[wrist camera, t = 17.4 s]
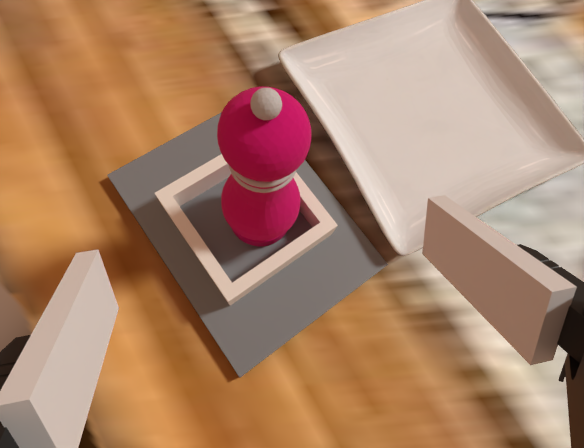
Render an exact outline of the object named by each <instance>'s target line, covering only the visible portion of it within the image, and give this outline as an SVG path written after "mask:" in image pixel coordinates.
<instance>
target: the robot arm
mask: <svg viewBox="0 0 584 448" xmlns="http://www.w3.org/2000/svg"><path fill="white" fill-rule="evenodd" d="M422 254H423V255H424V256H425V257H426V258H427V259H428V260H429V261H430V262H431V263H432V264H433V265H434V266H435V267H436V268H437V269H438V270H439V271H440V272H441V274H442V275H443V276H444V277H445V278H446V279H447V280H448V281H449V282H450V283H451V284H452V285H453V286H454V287H455V288H456V289H457V290H458V291H459V292H460V293H461V294H462V295H463V296H464V297H465V298H466V299H467V300H468V301H469V302H470V303H471V304H472V305H473V306H474V307H475V308H476V309H477V311H478V312H479V313H480V314H481V315H482V316H483V317H484V318H485V319H486V320H487V321H488V322H489V323H490V324H491V325H492V326H493V327H494V328H495V329H496V330H497V331H498V332H499V333H500V334H501V335H502V336H503V337H504V338H505V339H506V340H507V341H508V342H509V343H510V344H511V345H512V347H513V348H514V349H515V350H516V351H517V352H518V353H519V354H520V355H521V356H522V357H523V358H524V359H525V360H526V361H527V362H528V363H529V364H530V365H533V364H538V363H542V362H546V361H550V360H553V358H554V355H555V352H556V349H557V346H558V345H559V346H560V347H561V348H563V349H564V350H565V351H566V352H567V353H568V354H567V357H566V360H565V363H564V365H563V368H562V371H561V374H560V377H559V381H561V382H563V380H564V377H566V385H567V398H568V411H569V424H570V437H571V448H584V282H583V281H581V280H580V279H578V278H577V277H575V276H574V275H572V274H571V273H569V272H568V271H566V270H565V269H563V268H562V267H559V265H557V264H556V263H554V262H553V261H549V259H548V258H547V257H545V256H544V255H542V254H541V253H539V252H538V251H536V250H534V249H531V248H529V247H526V246H523V245H521V244H520V245H516V244H514V243H513V242H511V241H510V240H509V239H507V238H506V237H504V236H503V235H501V234H500V233H498V232H497V231H496V230H494V229H493V228H491V227H490V226H488V225H487V224H486V223H484V222H483V221H481V220H480V219H478V218H477V217H475V216H474V215H473V214H471V213H470V212H468V211H467V210H465V209H464V208H462V207H461V206H460V205H458V204H457V203H455V202H454V201H452V200H451V199H449V198H448V197H447V196H445V195H443V196H437V197H430V198H428V202H427V212H426V222H425V232H424V242H423V252H422ZM118 309H119V307H118V304H117V302H116V299H115V296H114V293H113V290H112V287H111V284H110V282H109V279H108V276H107V273H106V270H105V267H104V264H103V262H102V259H101V256H100V253H99V250H92V251H85V252H79V253H76V254H75V256H74V258H73V260H72V262H71V263H70V265H69V267H68V269H67V271H66V272H65V274H64V276H63V278H62V280H61V282H60V283H59V285H58V287H57V289H56V291H55V292H54V294H53V296H52V298H51V300H50V302H49V303H48V305H47V307H46V309H45V311H44V312H43V314H42V316H41V318H40V320H39V322H38V323H37V325H36V327H35V329H34V331H33V332H32V334H31V335H28V336H23V337H17V338H15V339H14V340H13V341H12V342H11V343H9V344H8V345H7V346H6V347H5V348H4V349H3V350H2V351H1V352H0V448H78V446H79V443H80V439H81V436H82V433H83V429H84V426H85V422H86V419H87V415H88V412H89V409H90V405H91V402H92V398H93V395H94V391H95V388H96V385H97V381H98V378H99V374H100V371H101V367H102V364H103V361H104V357H105V354H106V350H107V347H108V343H109V340H110V337H111V333H112V330H113V326H114V323H115V319H116V316H117V313H118Z"/></svg>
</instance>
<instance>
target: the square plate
mask: <svg viewBox="0 0 584 448" xmlns="http://www.w3.org/2000/svg"><path fill="white" fill-rule="evenodd" d="M278 57H279V60H280V62H281V64H282V66H283V67H284V69H285V71H286V72H287V74H288V75H289V77H290V78H291V80H292V81H293V83H294V84H295V86H296V87H297V88H298V90H299V91H300V93H301V94H302V96H303V97H304V99H305V100H306V102H307V103H308V105H309V106H310V107H311V109H312V110H313V112H314V114H315V115H316V116H317V118H318V120H319V121H320V123H321V124H322V126H323V127H324V129H325V130H326V132H327V134H328V135H329V137H330V138H331V140H332V142H333V144H334V145H335V147H336V149H337V150H338V152H339V154H340V156H341V157H342V159H343V161H344V163H345V164H346V166H347V168H348V170H349V171H350V173H351V175H352V177H353V179H354V180H355V182H356V184H357V186H358V188H359V189H360V191H361V193H362V195H363V197H364V199H365V201H366V203H367V204H368V206H369V208H370V210H371V212H372V213H373V215H374V217H375V219H376V221H377V223H378V225H379V226H380V228H381V230H382V232H383V234H384V235H385V237H386V238H387V240H388V242H389V243H390V245H391V246H392V248H393V249H394V250H395V251H396V252H397V253H398V254H399V255H402V256H406V255H409V254H411V253H413V252H416V251H418V250H420V249H421V248H423V242H424V232H425V222H426V212H427V202H428V198H430V197H437V196H443V195H445V196H447V197H448V198H449V199H451V200H452V201H454V202H455V203H457V204H458V205H460V206H461V207H462V208H464V209H465V210H467V211H468V212H470V213H471V214H473V215H474V216H475V217H477V216H479V215H481V214H483V213H485V212H486V211H488V210H490V209H492V208H494V207H495V206H497V205H499V204H501V203H503V202H505V201H507V200H508V199H510V198H512V197H514V196H516V195H518V194H520V193H522V192H524V191H526V190H528V189H531V188H533V187H535V186H537V185H539V184H541V183H543V182H546V181H548V180H550V179H552V178H554V177H556V176H559V175H561V174H563V173H565V172H568V171H570V170H572V169H574V168H576V167H578V166H580V165H582V164H584V138H583V137H582V135H581V134H580V133H579V131H578V130H577V129H576V128H575V126H574V125H573V124H572V123H571V121H570V120H569V119H568V118H567V116H566V115H565V114H564V112H563V111H562V110H561V109H560V107H559V106H558V105H557V103H556V102H555V101H554V100H553V98H552V97H551V96H550V94H549V93H548V92H547V91H546V89H545V88H544V87H543V86H542V84H541V83H540V82H539V81H538V80H537V78H536V77H535V76H534V75H533V73H532V72H531V71H530V70H529V68H528V67H527V66H526V65H525V63H524V62H523V61H522V60H521V58H520V57H519V56H518V55H517V53H516V52H515V51H514V50H513V49H512V47H511V46H510V45H509V44H508V42H507V41H506V40H505V39H504V37H503V36H502V35H501V34H500V33H499V31H498V30H497V29H496V28H495V26H494V25H493V24H492V23H491V21H490V20H489V19H488V18H487V17H486V15H485V14H484V13H483V12H482V11H481V9H480V8H479V7H478V6H477V5H476V4H475V2H474V1H473V0H424V1H421V2H418V3H415V4H412V5H409V6H406V7H403V8H400V9H398V10H395V11H392V12H389V13H386V14H383V15H380V16H377V17H374V18H371V19H368V20H365V21H362V22H359V23H356V24H353V25H350V26H347V27H345V28H342V29H339V30H336V31H333V32H330V33H327V34H324V35H321V36H318V37H315V38H312V39H310V40H307V41H304V42H301V43H298V44H295V45H293V46H290V47H287V48H285V49H283V50H281V51H280V52H279V54H278Z"/></svg>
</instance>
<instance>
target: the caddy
mask: <svg viewBox="0 0 584 448" xmlns="http://www.w3.org/2000/svg"><path fill="white" fill-rule="evenodd" d="M221 113H222V112H221ZM221 113H220V114H218V115H216V116H214V117H212V118H210V119H209V120H207V121H205V122H203V123H201V124H199V125H198V126H196V127H194V128H192V129H190V130H189V131H187V132H185V133H183V134H181V135H179V136H178V137H176V138H174V139H172V140H170V141H168V142H167V143H165V144H163V145H161V146H159V147H157V148H156V149H154V150H152V151H150V152H148V153H146V154H145V155H143V156H141V157H139V158H137V159H135V160H134V161H132V162H130V163H128V164H126V165H124V166H123V167H121V168H119V169H117V170H115V171H113V172H112V173H110V174H108V177H109V178H110V180H111V181H112V183H113V185H114V186H115V188H116V189H117V191H118V192H119V194H120V195H121V197H122V198H123V200H124V201H125V203H126V204H127V206H128V207H129V209H130V211H131V212H132V214H133V215H134V217H135V218H136V220H137V221H138V223H139V224H140V226H141V227H142V229H143V230H144V232H145V233H146V235H147V237H148V238H149V240H150V241H151V243H152V244H153V246H154V247H155V249H156V250H157V252H158V253H159V255H160V256H161V258H162V259H163V261H164V263H165V264H166V266H167V267H168V269H169V270H170V272H171V273H172V275H173V276H174V278H175V279H176V281H177V282H178V284H179V285H180V287H181V289H182V290H183V292H184V293H185V295H186V296H187V298H188V299H189V301H190V302H191V304H192V305H193V307H194V308H195V310H196V311H197V313H198V315H199V316H200V318H201V319H202V321H203V322H204V324H205V325H206V327H207V328H208V330H209V331H210V333H211V334H212V336H213V337H214V339H215V340H216V342H217V344H218V345H219V347H220V348H221V350H222V351H223V353H224V354H225V356H226V357H227V359H228V360H229V362H230V363H231V365H232V366H233V368H234V370H235V371H236V373H237V374H238V376H239V377H241V376H243V375H244V374H245V373H247V372H248V371H249V370H251V369H252V368H253V367H255V366H256V365H257V364H258V363H260V362H261V361H262V360H264V359H265V358H266V357H268V356H269V355H270V354H272V353H273V352H274V351H275V350H277V349H278V348H279V347H281V346H282V345H283V344H285V343H286V342H287V341H289V340H290V339H291V338H292V337H294V336H295V335H296V334H298V333H299V332H300V331H302V330H303V329H304V328H306V327H307V326H308V325H309V324H311V323H312V322H313V321H315V320H316V319H317V318H319V317H320V316H321V315H323V314H324V313H325V312H326V311H328V310H329V309H330V308H332V307H333V306H334V305H336V304H337V303H338V302H340V301H341V300H342V299H343V298H345V297H346V296H347V295H349V294H350V293H351V292H353V291H354V290H355V289H357V288H358V287H359V286H360V285H362V284H363V283H364V282H366V281H367V280H368V279H370V278H371V277H372V276H374V275H375V274H376V273H377V272H379V271H380V270H381V269H383V268H384V267H385V266H387V265H388V264H387V262H386V261H385V260H384V259H383V257H382V256H381V255H380V254H379V252H378V251H377V250H376V249H375V247H374V246H373V245H372V244H371V242H370V241H369V240H368V239H367V237H366V236H365V235H364V234H363V232H362V231H361V230H360V228H359V227H358V226H357V225H356V223H355V222H354V221H353V220H352V218H351V217H350V216H349V215H348V213H347V212H346V211H345V210H344V208H343V207H342V206H341V205H340V203H339V202H338V201H337V200H336V198H335V197H334V196H333V195H332V193H331V192H330V191H329V189H328V188H327V187H326V186H325V184H324V183H323V182H322V181H321V179H320V178H319V177H318V176H317V174H316V173H315V172H314V171H313V169H312V168H311V167H310V166H309V164H308V163H307V162H306V161H305V160H304V162H303V163H302V164H301V165H300V166H299V167H298V169H297V170H296V173H295V175H294V177H293V178H294V180H295V182H296V183H297V186H298V189H299V192H300V209H299V213H298V217H297V219H296V221H295V222H294V224H293V225H292V227H291V228H290V229H289V230H288V231H287V232H286V234H285V235H284V236H283V237H282V238H281V239H280V240H279V241H277V242H276V243H274V244H271V245H268V246H252V245H249V244H247V243H245V242H243V241H242V240H240V239H239V238H238V237H237V236H236V235H235V234H234V232H233V230H232V228H231V227H230V225H229V224H228V223H227V221H226V219H225V217H224V215H223V212H222V205H221V195H222V190H223V187H224V185H225V183H226V181H227V179H228V178H229V176H230V175H231V171H230V169H229V164H228V163H227V162H226V161H225V160H224V158H223V156H222V154H221V151H220V148H219V145H218V139H217V128H218V122H219V119H220V116H221Z"/></svg>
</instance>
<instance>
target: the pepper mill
mask: <svg viewBox="0 0 584 448" xmlns="http://www.w3.org/2000/svg"><path fill="white" fill-rule="evenodd" d="M217 139H218V145H219V148H220V151H221V154H222V156H223V158H224V160H225V161H226V162H227V163H228V164H229V169H230V171H231V175H230V176H229V178H228V179H227V181H226V183H225V185H224V187H223V190H222V195H221V205H222V212H223V215H224V217H225V219H226V221H227V223H228V224H229V225H230V227H231V228H232V230H233V232H234V234H235V235H236V236H237V237H238V238H239V239H240V240H242V241H243V242H245V243H247V244H249V245H252V246H268V245H271V244H274V243H276V242H277V241H279V240H280V239H281V238H282V237H283V236H284V235H285V234H286V232H287V231H288V230H289V229H290V228H291V227H292V225H293V224H294V222H295V221H296V219H297V217H298V213H299V209H300V192H299V189H298V186H297V183H296V182H295V180H294V178H293V177H294V175H295V173H296V170H297V169H298V167H299V166H300V165H301V164H302V163H303V162H304V160H305V158H306V156H307V154H308V151H309V148H310V144H311V126H310V121H309V119H308V116H307V113H306V112H305V110H304V108H303V107H302V106H301V104H300V103H299V102H298V101H297V100H296V99H295V98H293V97H292V96H291V95H289V94H288V93H286V92H284V91H282V90H279V89H277V88H273V87H262V86H261V87H255V88H250V89H248V90H245V91H243V92H241V93H239V94H238V95H236V96H235V97H234V98H232V99H231V100H230V101H229V102H228V104H227V105H226V106H225V108H224V109H223V111H222V113H221V116H220V119H219V122H218V128H217Z"/></svg>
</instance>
